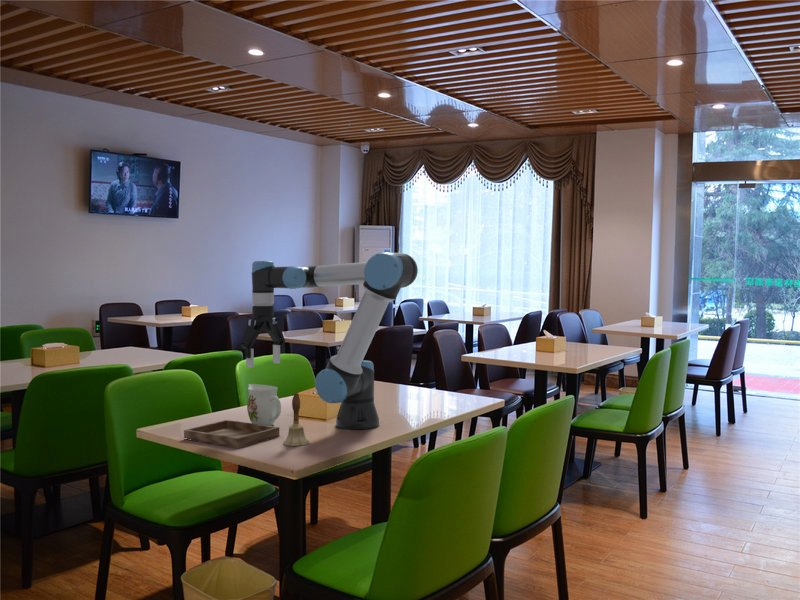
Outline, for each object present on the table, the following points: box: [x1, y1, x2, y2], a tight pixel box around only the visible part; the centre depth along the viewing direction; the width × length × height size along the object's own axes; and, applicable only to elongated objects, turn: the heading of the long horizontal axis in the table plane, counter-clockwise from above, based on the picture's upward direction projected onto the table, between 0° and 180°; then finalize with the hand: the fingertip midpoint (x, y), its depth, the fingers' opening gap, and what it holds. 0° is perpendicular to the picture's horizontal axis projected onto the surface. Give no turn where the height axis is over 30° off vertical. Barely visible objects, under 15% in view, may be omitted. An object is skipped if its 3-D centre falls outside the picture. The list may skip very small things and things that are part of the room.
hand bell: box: [282, 392, 310, 447], centre depth 233 cm, size 8×8×16 cm
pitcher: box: [246, 383, 282, 426], centre depth 260 cm, size 11×18×14 cm, turn 46°
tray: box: [183, 419, 280, 449], centre depth 241 cm, size 24×19×3 cm
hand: (263, 365), depth 260 cm, fingers open, 13 cm apart
